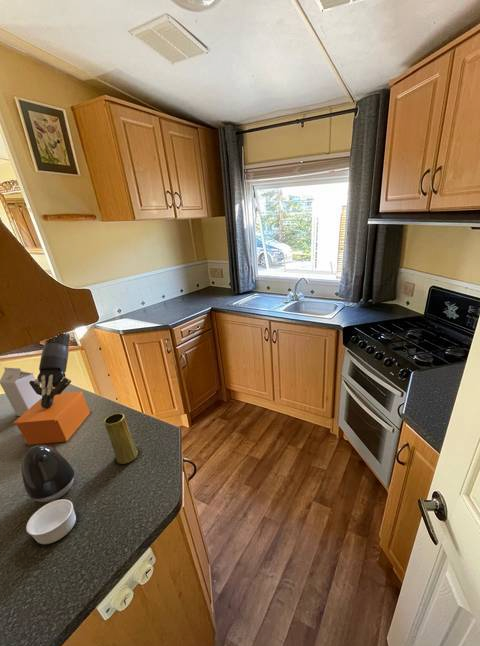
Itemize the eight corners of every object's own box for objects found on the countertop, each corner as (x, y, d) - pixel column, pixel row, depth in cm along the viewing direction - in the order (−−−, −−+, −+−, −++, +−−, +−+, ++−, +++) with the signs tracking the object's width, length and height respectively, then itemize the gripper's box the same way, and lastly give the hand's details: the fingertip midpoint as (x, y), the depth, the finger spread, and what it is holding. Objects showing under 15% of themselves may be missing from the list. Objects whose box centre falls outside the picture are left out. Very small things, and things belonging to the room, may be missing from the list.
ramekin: (29, 530, 67) (21, 518, 66) (72, 504, 73) (66, 492, 71) (39, 556, 62) (31, 543, 60) (84, 525, 68) (78, 513, 66)
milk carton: (34, 405, 116) (13, 363, 108) (48, 406, 115) (28, 363, 106) (17, 416, 110) (-7, 372, 102) (32, 417, 109) (9, 373, 100)
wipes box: (67, 441, 95) (57, 419, 91) (27, 444, 95) (15, 423, 91) (90, 413, 109) (82, 393, 105) (55, 416, 109) (46, 396, 105)
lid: (55, 421, 91) (54, 419, 90) (13, 425, 90) (12, 423, 90) (82, 393, 105) (81, 391, 105) (46, 396, 105) (45, 394, 105)
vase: (130, 465, 84) (116, 426, 78) (111, 463, 85) (96, 424, 79) (142, 450, 90) (130, 412, 83) (124, 448, 91) (111, 411, 85)
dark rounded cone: (45, 516, 71) (18, 470, 64) (26, 498, 76) (-1, 454, 69) (86, 485, 78) (66, 442, 72) (67, 471, 83) (46, 429, 77)
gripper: (26, 356, 98) (16, 407, 92) (66, 353, 98) (59, 403, 92) (43, 363, 105) (34, 411, 99) (80, 360, 105) (73, 407, 99)
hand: (46, 407), depth 96 cm, fingers closed
